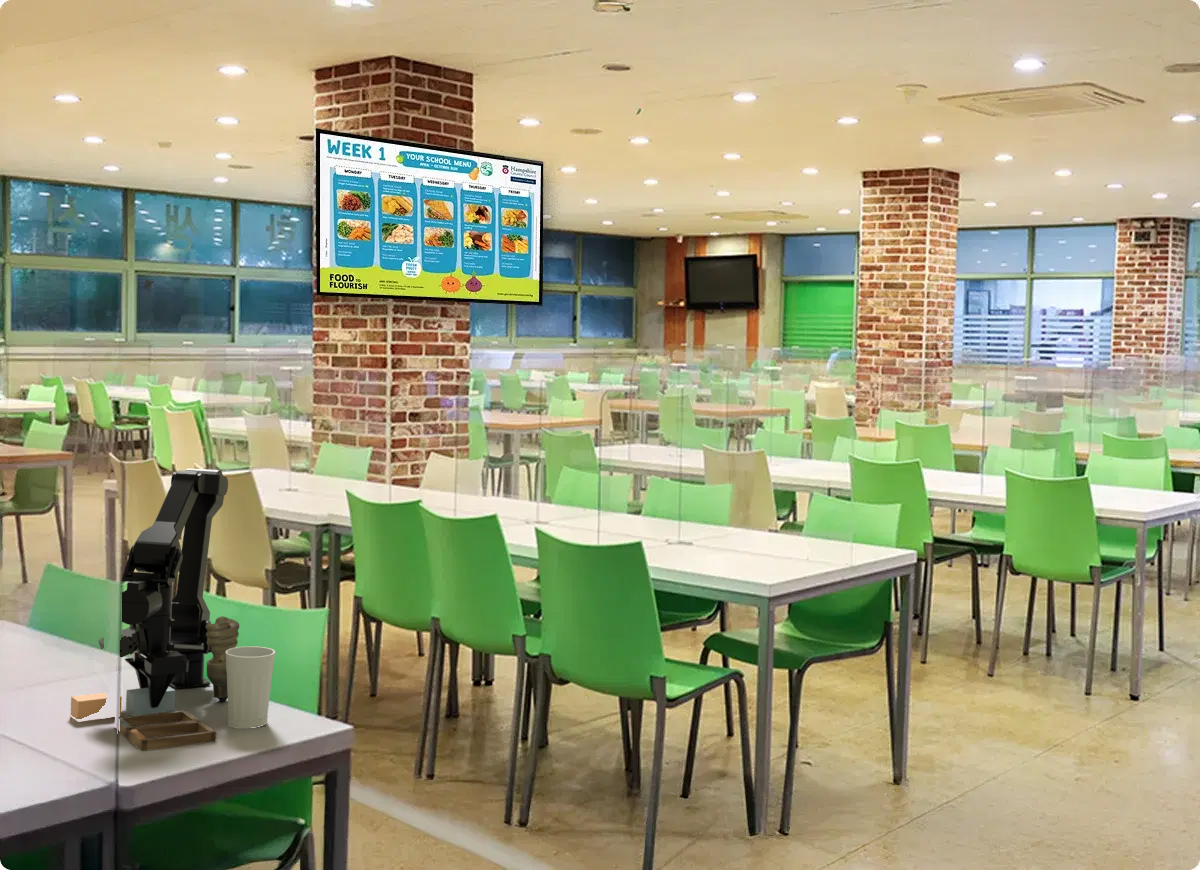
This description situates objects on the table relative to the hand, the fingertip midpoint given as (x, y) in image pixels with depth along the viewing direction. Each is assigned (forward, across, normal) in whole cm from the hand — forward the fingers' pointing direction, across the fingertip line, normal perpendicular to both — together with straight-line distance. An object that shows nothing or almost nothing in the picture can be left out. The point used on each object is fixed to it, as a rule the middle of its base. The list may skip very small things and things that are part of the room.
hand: (150, 704), depth 227 cm
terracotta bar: (+1, 0, -9) cm, 9 cm away
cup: (+1, +14, +12) cm, 18 cm away
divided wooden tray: (+1, +14, -2) cm, 15 cm away
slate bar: (+1, 0, 0) cm, 1 cm away
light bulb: (+1, -1, +12) cm, 12 cm away
